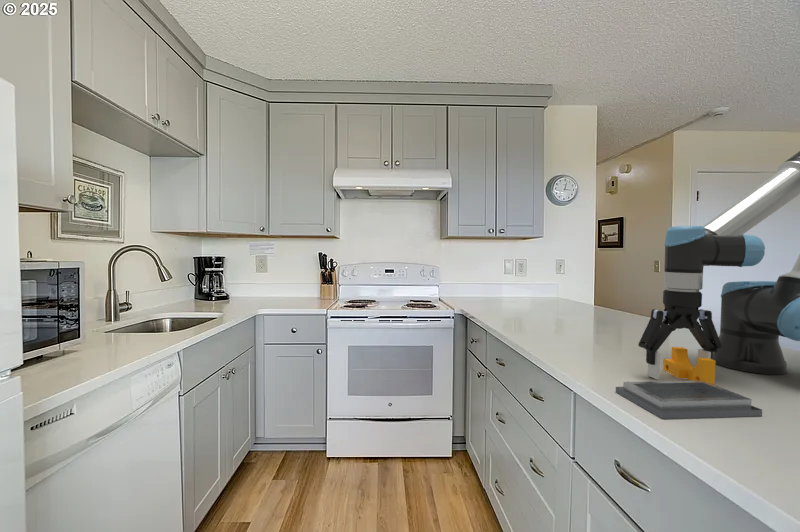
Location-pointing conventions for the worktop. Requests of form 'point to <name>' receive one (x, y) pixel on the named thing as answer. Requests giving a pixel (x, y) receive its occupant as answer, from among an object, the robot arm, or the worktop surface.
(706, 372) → the pipe clamp
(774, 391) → the worktop surface
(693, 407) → the rail plate
